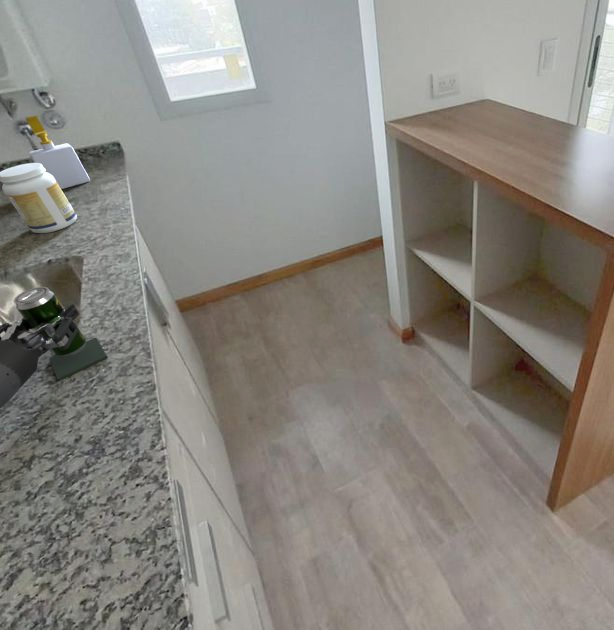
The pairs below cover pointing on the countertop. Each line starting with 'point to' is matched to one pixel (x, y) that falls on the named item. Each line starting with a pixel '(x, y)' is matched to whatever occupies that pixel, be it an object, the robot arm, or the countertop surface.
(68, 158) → the soap bottle
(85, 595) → the countertop surface
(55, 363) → the coaster
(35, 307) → the beer can
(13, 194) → the supplement tub
